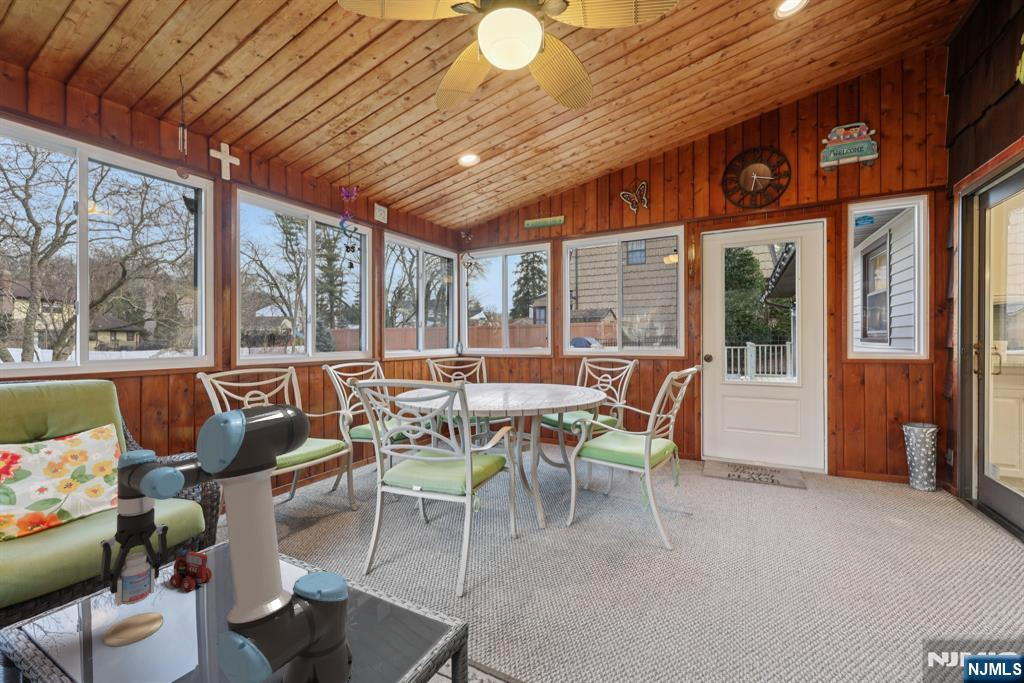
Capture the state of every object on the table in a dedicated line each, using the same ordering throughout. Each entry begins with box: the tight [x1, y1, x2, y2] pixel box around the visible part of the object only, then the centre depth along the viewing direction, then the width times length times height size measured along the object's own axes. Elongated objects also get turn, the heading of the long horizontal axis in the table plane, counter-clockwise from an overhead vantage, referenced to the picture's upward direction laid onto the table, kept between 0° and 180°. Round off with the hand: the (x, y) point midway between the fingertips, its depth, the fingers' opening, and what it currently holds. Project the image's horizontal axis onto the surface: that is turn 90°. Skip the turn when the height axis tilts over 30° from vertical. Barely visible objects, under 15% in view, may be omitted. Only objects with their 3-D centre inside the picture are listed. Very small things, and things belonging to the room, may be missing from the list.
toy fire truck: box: [169, 549, 213, 592], centre depth 138 cm, size 7×12×10 cm, turn 72°
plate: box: [102, 612, 164, 647], centre depth 117 cm, size 12×12×1 cm
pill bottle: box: [119, 551, 151, 605], centre depth 116 cm, size 6×6×11 cm
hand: (134, 597), depth 116 cm, fingers closed on pill bottle, 6 cm apart
